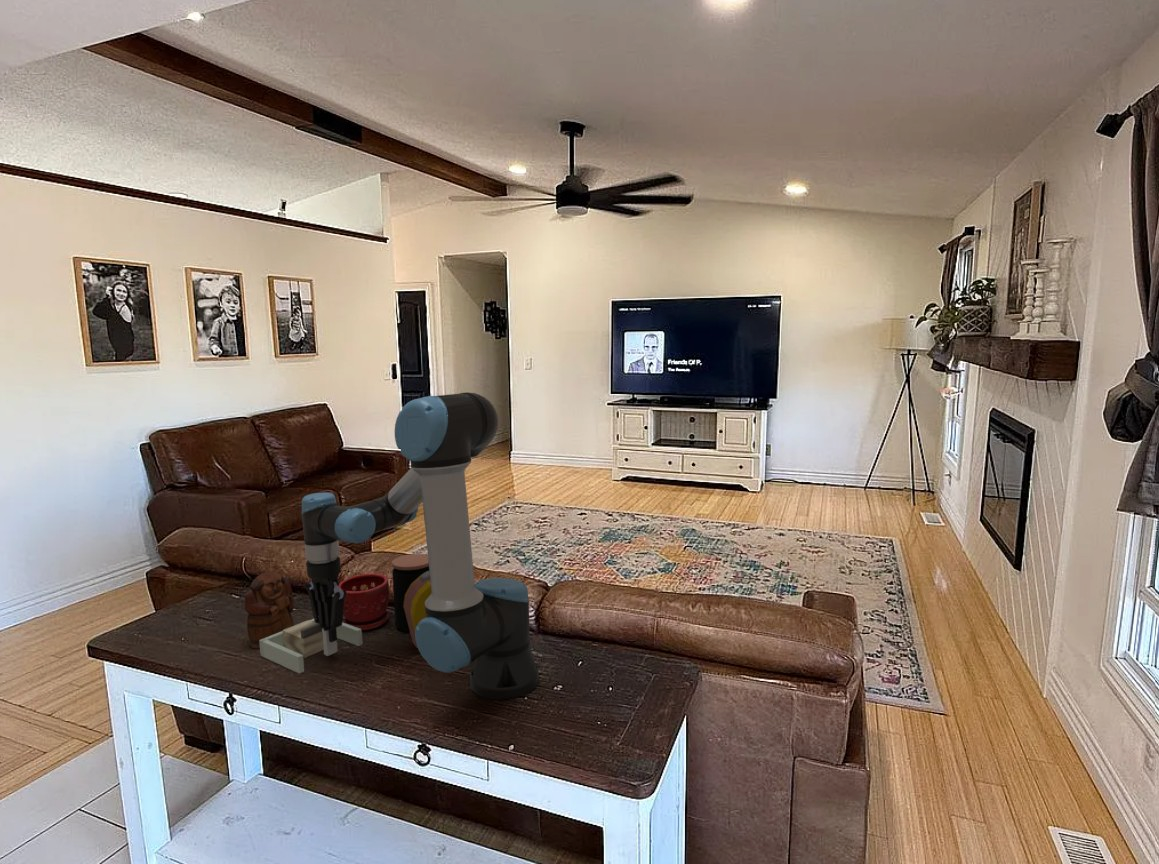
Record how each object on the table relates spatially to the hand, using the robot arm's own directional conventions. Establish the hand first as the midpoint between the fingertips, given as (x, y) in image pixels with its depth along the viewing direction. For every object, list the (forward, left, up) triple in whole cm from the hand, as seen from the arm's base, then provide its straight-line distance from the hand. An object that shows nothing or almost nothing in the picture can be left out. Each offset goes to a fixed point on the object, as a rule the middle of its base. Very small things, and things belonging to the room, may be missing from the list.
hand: (330, 652), depth 159 cm
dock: (+7, 0, -1) cm, 7 cm away
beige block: (+10, 0, -2) cm, 10 cm away
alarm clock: (-16, -20, -2) cm, 26 cm away
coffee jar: (-3, -24, -2) cm, 24 cm away
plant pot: (+9, -17, -2) cm, 19 cm away
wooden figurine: (+21, +2, -2) cm, 21 cm away
